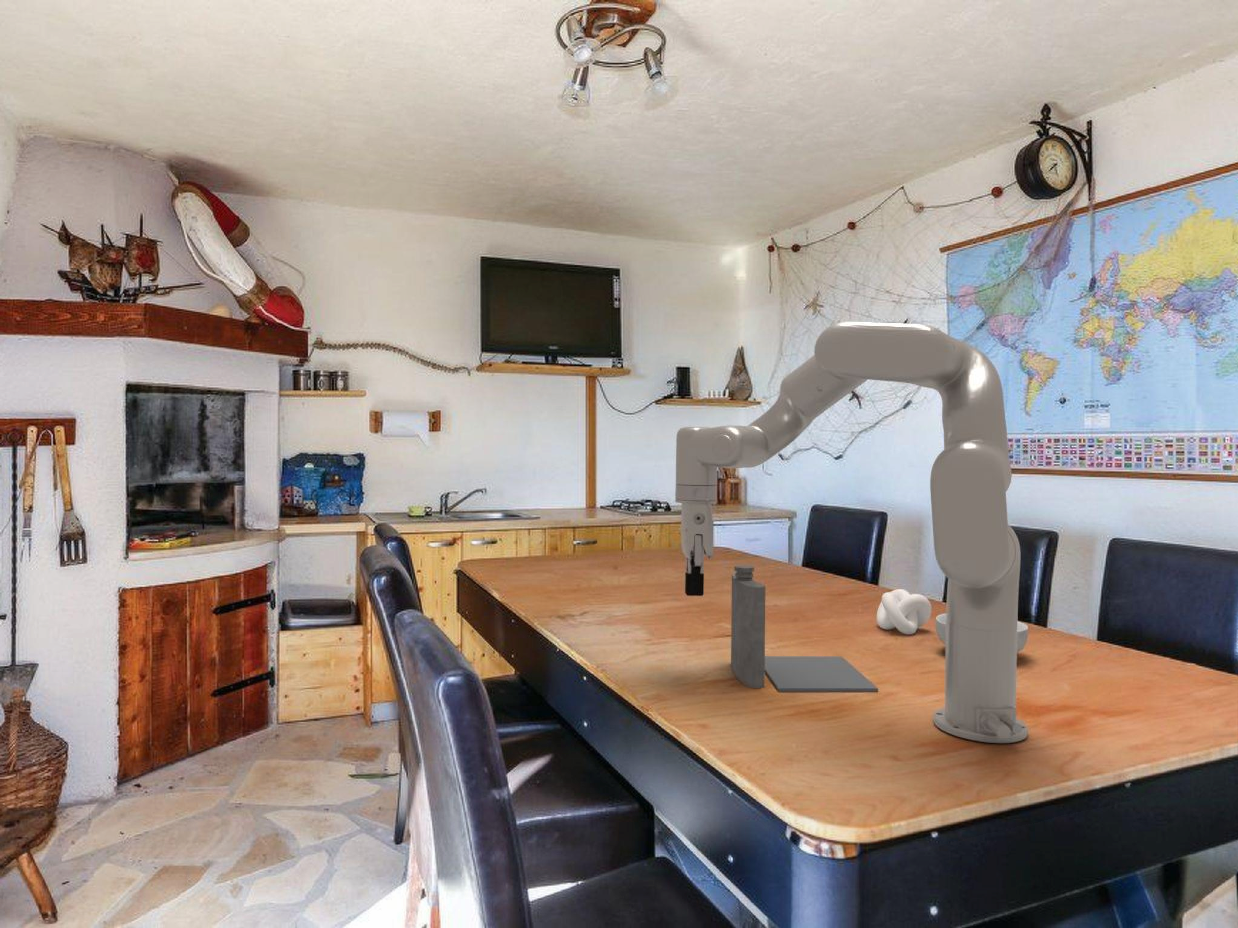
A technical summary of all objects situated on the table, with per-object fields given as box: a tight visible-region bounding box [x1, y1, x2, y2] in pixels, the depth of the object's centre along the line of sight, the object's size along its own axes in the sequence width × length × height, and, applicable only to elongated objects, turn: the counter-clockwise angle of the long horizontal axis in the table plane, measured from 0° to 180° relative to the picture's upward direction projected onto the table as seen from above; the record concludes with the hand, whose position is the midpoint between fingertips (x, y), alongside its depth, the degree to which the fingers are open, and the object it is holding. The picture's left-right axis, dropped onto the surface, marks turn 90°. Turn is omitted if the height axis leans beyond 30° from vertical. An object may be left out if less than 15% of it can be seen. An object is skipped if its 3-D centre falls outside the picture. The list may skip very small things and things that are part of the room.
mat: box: [765, 655, 879, 693], centre depth 139 cm, size 20×17×1 cm
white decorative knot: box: [875, 588, 932, 636], centre depth 174 cm, size 11×12×9 cm
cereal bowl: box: [935, 613, 1029, 654], centre depth 153 cm, size 17×17×7 cm
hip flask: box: [730, 564, 766, 689], centre depth 139 cm, size 16×4×20 cm, turn 3°
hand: (694, 594), depth 139 cm, fingers closed
